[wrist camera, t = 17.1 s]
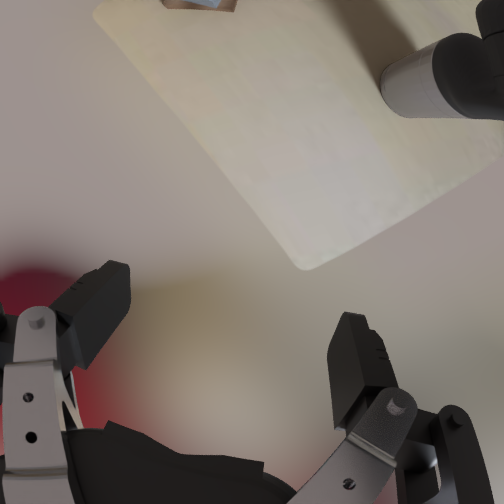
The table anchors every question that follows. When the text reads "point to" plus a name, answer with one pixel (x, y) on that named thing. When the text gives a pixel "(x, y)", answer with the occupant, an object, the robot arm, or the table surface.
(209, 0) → the tower top
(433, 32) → the table surface
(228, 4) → the tower base
